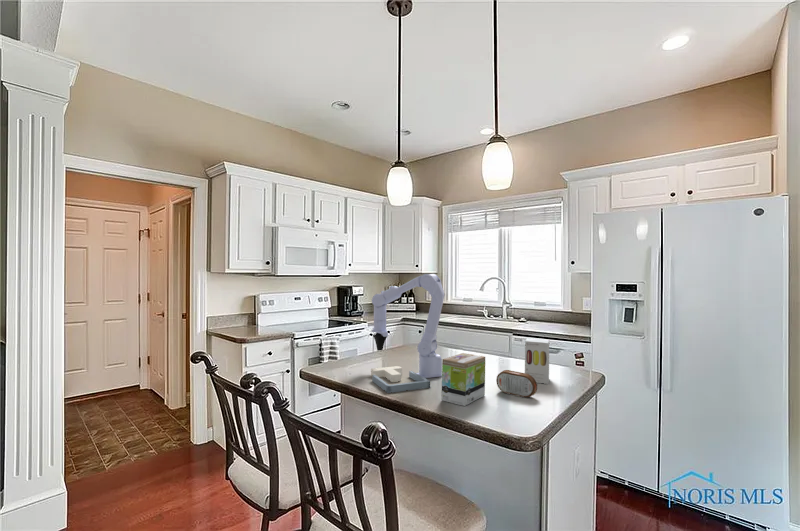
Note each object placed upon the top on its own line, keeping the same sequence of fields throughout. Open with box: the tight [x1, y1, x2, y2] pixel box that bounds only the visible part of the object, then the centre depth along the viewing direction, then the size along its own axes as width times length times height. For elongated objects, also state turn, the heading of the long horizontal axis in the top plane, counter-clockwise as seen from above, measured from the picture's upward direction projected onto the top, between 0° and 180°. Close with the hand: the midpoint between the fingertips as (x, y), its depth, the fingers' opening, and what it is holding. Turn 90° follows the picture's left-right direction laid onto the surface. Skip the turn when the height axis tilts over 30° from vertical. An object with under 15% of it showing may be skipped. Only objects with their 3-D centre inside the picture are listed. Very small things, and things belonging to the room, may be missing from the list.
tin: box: [496, 369, 538, 398], centre depth 147 cm, size 15×3×8 cm, turn 50°
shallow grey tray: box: [371, 370, 431, 394], centre depth 160 cm, size 18×17×2 cm
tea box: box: [441, 352, 486, 407], centre depth 143 cm, size 15×10×15 cm, turn 143°
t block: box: [370, 365, 403, 383], centre depth 169 cm, size 13×13×3 cm
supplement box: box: [524, 337, 550, 385], centre depth 166 cm, size 10×9×17 cm
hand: (379, 350), depth 181 cm, fingers closed
